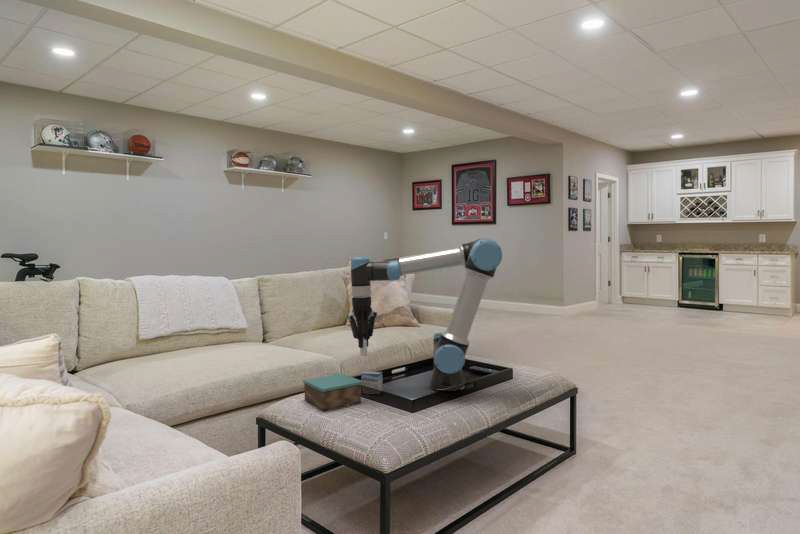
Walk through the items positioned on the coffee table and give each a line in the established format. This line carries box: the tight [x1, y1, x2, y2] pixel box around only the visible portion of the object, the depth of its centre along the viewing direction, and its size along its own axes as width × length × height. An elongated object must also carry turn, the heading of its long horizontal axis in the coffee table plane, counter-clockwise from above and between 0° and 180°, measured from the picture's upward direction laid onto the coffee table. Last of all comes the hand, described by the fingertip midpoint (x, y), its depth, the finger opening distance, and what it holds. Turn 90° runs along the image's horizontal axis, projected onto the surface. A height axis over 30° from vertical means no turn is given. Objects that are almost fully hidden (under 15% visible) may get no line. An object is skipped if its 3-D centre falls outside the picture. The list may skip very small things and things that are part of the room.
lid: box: [302, 372, 363, 392], centre depth 202 cm, size 17×17×1 cm
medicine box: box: [360, 370, 384, 391], centre depth 213 cm, size 8×4×9 cm, turn 76°
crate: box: [303, 383, 362, 412], centre depth 202 cm, size 16×16×7 cm
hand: (363, 355), depth 208 cm, fingers closed
